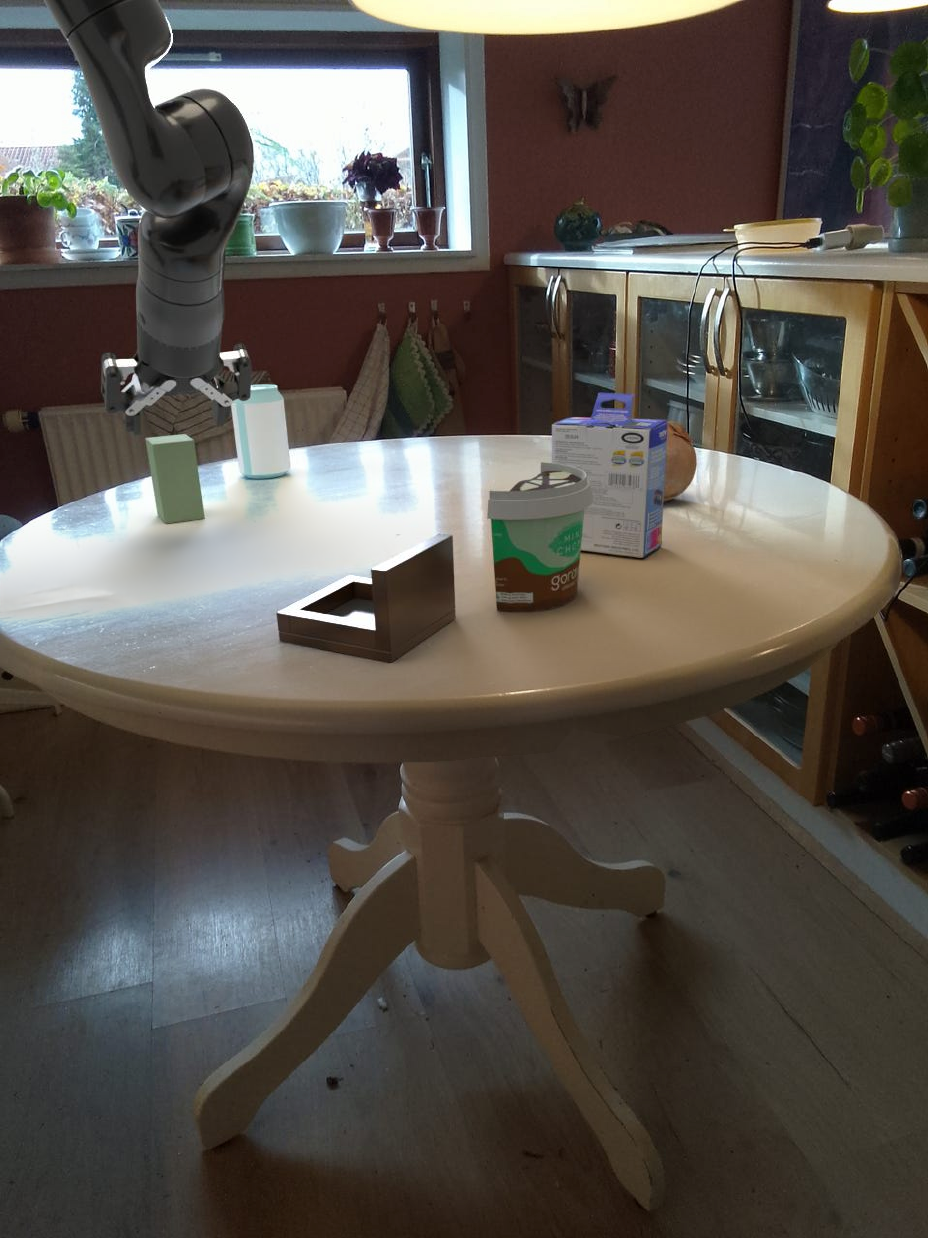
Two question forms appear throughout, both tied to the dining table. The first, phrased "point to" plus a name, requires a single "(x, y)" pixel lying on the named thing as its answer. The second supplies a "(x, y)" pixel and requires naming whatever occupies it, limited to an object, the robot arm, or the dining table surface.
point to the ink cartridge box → (617, 475)
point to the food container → (539, 538)
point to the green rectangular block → (175, 478)
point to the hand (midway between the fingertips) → (176, 424)
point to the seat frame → (379, 606)
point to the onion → (678, 461)
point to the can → (261, 433)
